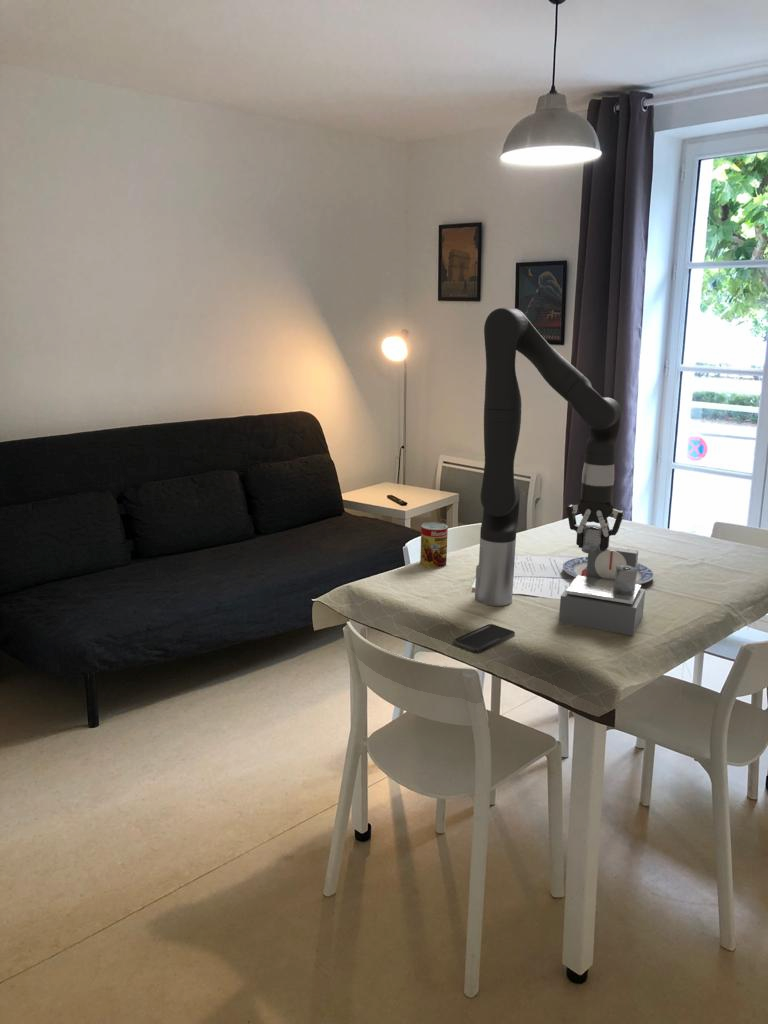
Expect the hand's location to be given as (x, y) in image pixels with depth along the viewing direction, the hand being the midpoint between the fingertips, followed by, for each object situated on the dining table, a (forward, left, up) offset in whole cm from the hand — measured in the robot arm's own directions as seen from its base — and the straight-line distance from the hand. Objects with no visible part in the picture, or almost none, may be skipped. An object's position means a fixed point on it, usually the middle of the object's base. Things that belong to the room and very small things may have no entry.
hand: (592, 548), depth 204 cm
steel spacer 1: (0, 0, -1) cm, 1 cm away
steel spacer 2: (+8, 0, -10) cm, 13 cm away
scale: (+3, +2, -18) cm, 19 cm away
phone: (-18, -25, -19) cm, 36 cm away
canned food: (-51, +22, -18) cm, 58 cm away
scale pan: (+3, +1, -11) cm, 11 cm away
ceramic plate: (-2, +36, -19) cm, 41 cm away
